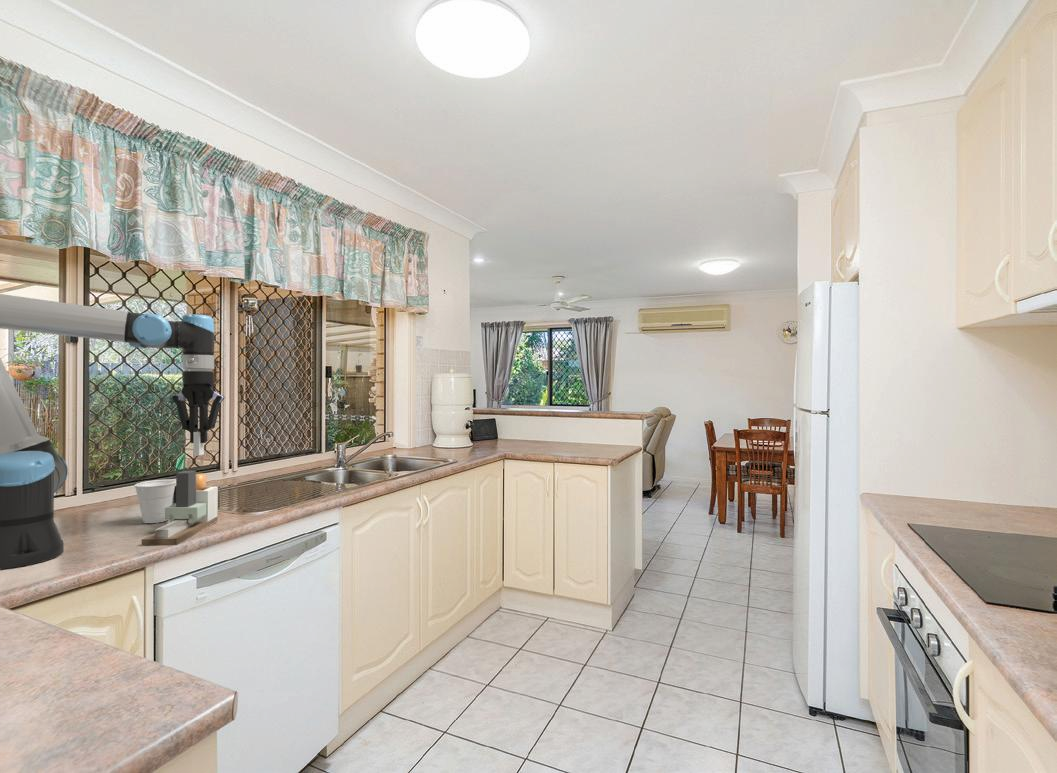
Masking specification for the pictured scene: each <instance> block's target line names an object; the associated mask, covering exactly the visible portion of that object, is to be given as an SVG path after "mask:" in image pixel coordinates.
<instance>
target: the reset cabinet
mask: <svg viewBox="0 0 1057 773" xmlns="http://www.w3.org/2000/svg"><path fill="white" fill-rule="evenodd" d="M218 490H219V486H206V489H205V490H203V491H196V503H206V515H204V516H202V519H200V520H198V522H208V521H210V520H212V519H214V518H215V517H217V516H218V512H219V511H218V507H219V506H218V501H219V500H218V499H219V496H218V495H219V493H218Z"/></svg>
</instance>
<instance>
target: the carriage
mask: <svg viewBox="0 0 1057 773" xmlns="http://www.w3.org/2000/svg"><path fill="white" fill-rule="evenodd" d="M196 474H197V471H196V470H182V471H180V472H176V477H175V480H176V483H175V486H176V504H173V503H172V505H171V506H168V507H166V508H165V519H168V520H169V523H170V522H173V521H175V520H177V519H188V523H194V522H196V521H198V520H200V519H202V516H204V515H206V503H196Z"/></svg>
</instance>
